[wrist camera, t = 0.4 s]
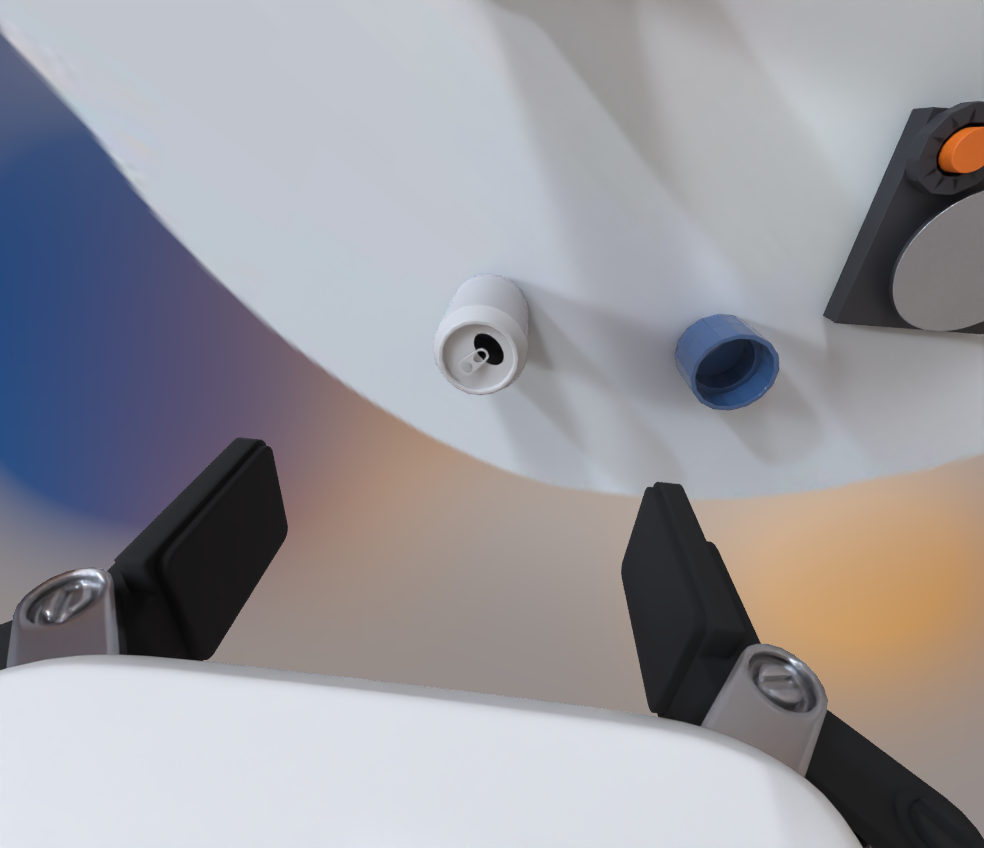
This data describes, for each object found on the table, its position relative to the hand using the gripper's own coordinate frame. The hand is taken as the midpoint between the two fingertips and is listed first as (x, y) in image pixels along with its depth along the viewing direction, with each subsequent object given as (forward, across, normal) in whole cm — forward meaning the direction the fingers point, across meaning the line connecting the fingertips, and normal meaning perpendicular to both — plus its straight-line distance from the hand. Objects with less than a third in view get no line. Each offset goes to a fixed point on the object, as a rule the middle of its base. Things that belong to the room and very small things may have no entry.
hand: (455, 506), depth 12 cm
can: (+36, +1, +6) cm, 36 cm away
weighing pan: (+32, -36, -2) cm, 49 cm away
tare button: (+32, -32, -10) cm, 47 cm away
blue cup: (+36, -21, +8) cm, 42 cm away
